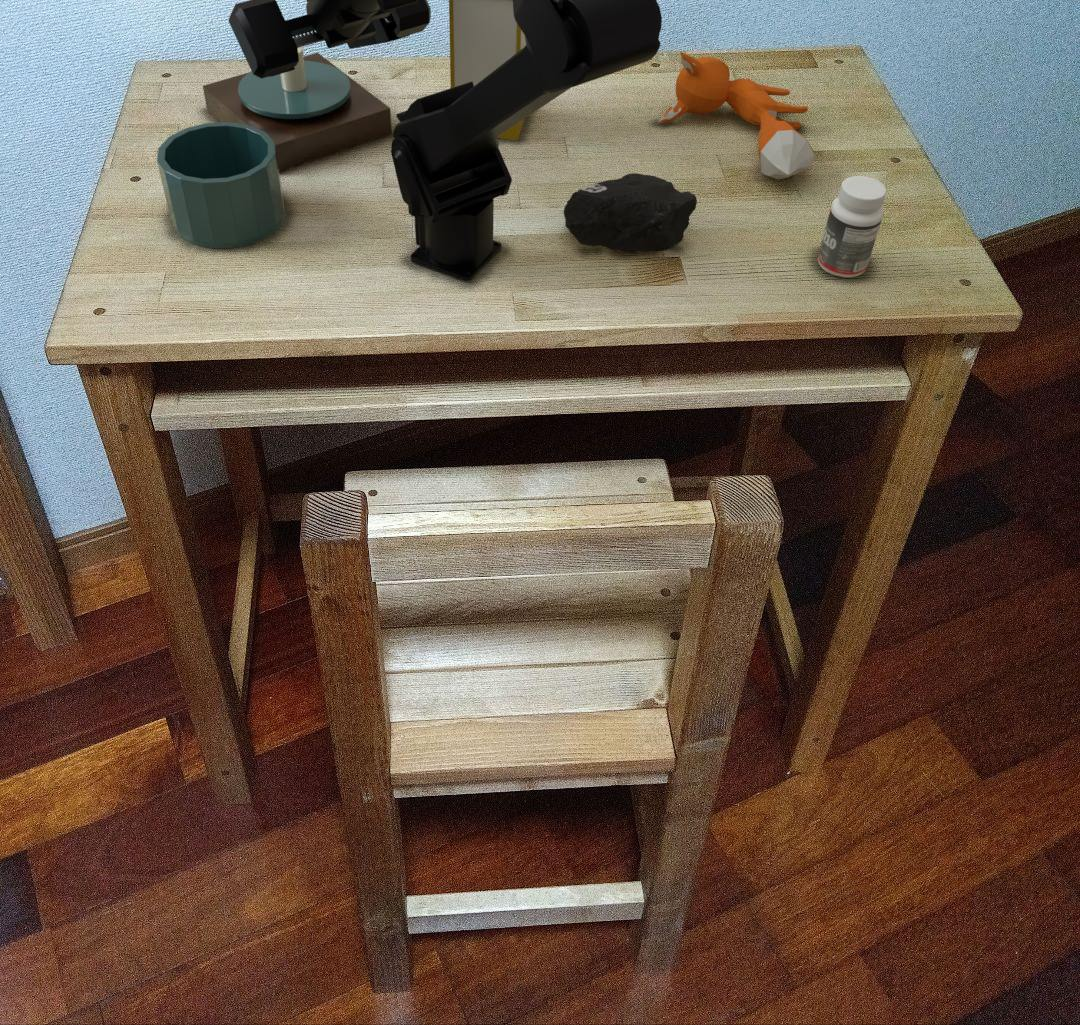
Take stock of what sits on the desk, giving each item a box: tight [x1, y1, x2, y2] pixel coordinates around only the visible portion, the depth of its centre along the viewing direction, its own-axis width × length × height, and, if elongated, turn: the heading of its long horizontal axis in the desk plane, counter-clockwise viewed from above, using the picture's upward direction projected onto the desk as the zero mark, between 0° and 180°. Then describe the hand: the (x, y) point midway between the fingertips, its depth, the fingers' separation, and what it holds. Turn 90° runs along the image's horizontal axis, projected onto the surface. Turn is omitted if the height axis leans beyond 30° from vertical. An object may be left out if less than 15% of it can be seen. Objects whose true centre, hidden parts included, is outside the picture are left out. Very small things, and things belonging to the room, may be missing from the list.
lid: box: [238, 47, 351, 119], centre depth 118 cm, size 12×12×5 cm
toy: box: [657, 51, 815, 180], centre depth 121 cm, size 8×22×15 cm
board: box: [202, 52, 393, 173], centre depth 121 cm, size 15×14×3 cm
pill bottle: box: [817, 175, 887, 278], centre depth 106 cm, size 5×5×8 cm
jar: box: [156, 122, 286, 250], centre depth 107 cm, size 11×11×7 cm
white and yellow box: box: [448, 0, 526, 141], centre depth 114 cm, size 7×13×24 cm, turn 171°
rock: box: [563, 172, 698, 254], centre depth 108 cm, size 10×9×6 cm
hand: (308, 55), depth 113 cm, fingers open, 9 cm apart
